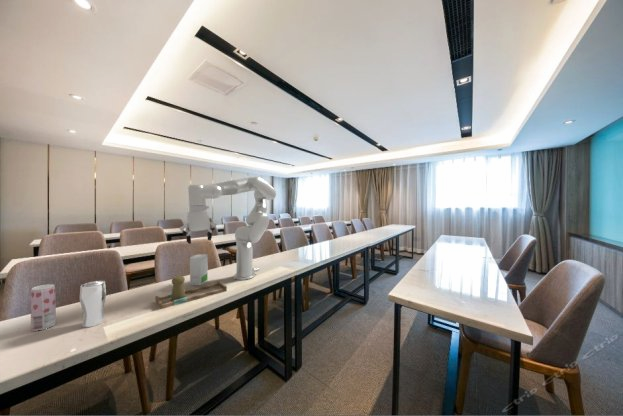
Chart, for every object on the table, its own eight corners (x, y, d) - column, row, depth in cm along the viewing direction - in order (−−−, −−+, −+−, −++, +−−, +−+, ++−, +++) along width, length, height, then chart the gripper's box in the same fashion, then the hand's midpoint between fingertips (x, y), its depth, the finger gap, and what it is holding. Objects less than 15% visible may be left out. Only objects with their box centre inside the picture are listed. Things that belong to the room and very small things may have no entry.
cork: (169, 299, 102) (169, 276, 101) (183, 295, 106) (183, 273, 106) (172, 303, 97) (172, 279, 97) (187, 299, 102) (187, 276, 102)
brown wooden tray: (218, 285, 120) (219, 281, 120) (226, 291, 112) (226, 286, 112) (155, 301, 100) (155, 296, 100) (159, 309, 92) (159, 303, 92)
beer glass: (83, 330, 77) (82, 288, 76) (77, 324, 80) (77, 284, 80) (109, 321, 83) (108, 282, 82) (102, 316, 86) (102, 279, 86)
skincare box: (200, 285, 119) (200, 257, 119) (188, 285, 119) (188, 257, 119) (208, 280, 128) (208, 254, 127) (197, 279, 128) (197, 253, 127)
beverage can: (53, 321, 82) (53, 282, 82) (57, 325, 79) (57, 285, 79) (29, 328, 77) (28, 287, 77) (32, 333, 74) (32, 291, 74)
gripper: (212, 207, 119) (214, 238, 120) (176, 209, 107) (178, 243, 108) (217, 208, 114) (219, 239, 115) (180, 210, 102) (182, 245, 103)
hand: (199, 241), depth 112 cm, fingers open, 9 cm apart
